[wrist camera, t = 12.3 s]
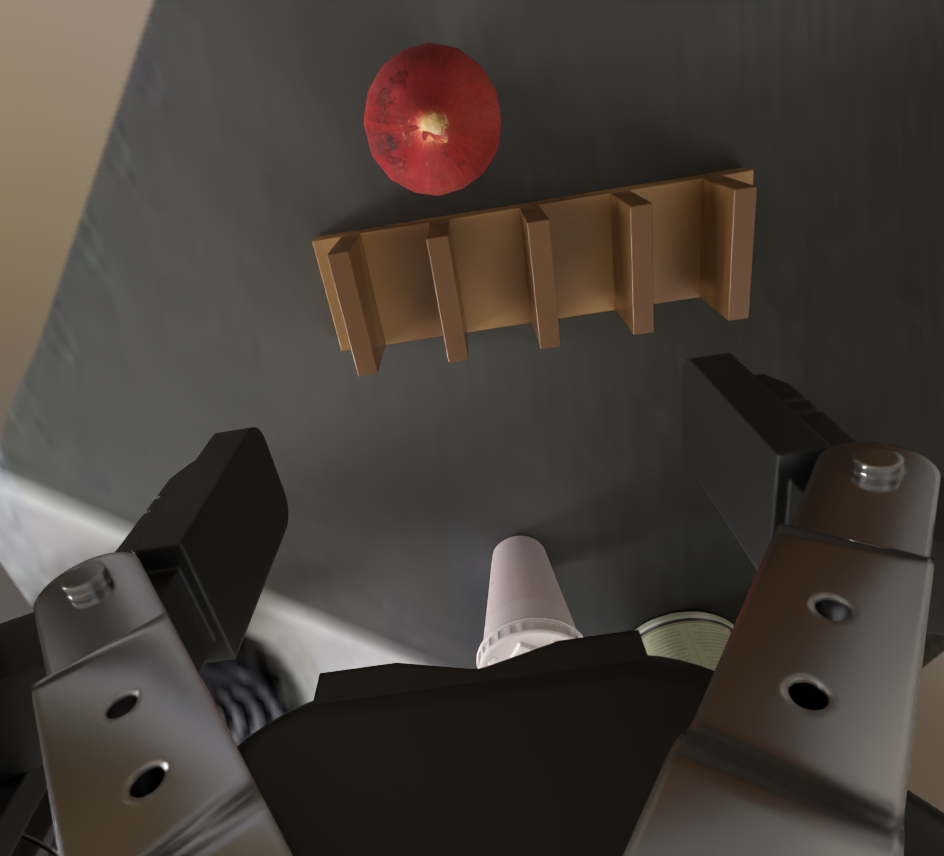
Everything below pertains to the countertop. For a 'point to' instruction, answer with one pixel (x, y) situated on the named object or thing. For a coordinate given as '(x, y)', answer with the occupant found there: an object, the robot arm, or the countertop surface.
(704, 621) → the coffee can
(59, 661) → the robot arm
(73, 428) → the countertop surface
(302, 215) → the countertop surface
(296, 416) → the countertop surface
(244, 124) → the countertop surface
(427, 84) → the red round piece
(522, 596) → the smoothie
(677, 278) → the dish rack
